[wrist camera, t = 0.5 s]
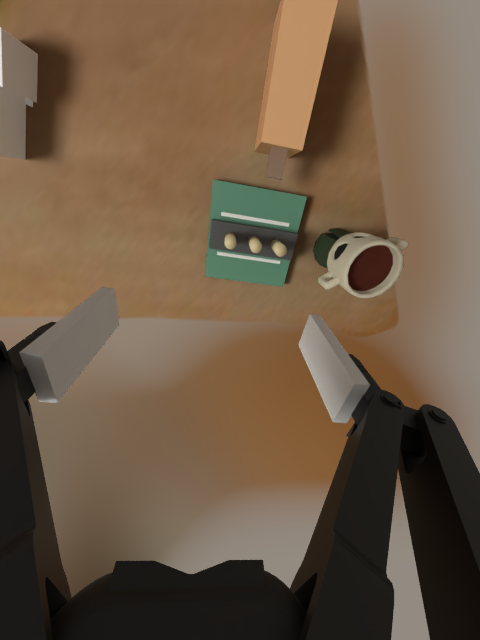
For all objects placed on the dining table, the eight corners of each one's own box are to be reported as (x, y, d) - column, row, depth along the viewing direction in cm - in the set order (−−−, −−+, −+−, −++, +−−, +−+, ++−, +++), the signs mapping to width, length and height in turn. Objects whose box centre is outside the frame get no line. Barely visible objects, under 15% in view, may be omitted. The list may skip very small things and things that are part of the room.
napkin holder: (25, 184, 32) (-11, 183, 27) (-59, 85, 27) (-124, 62, 22) (108, 124, 30) (84, 111, 25) (32, 1, 24) (-19, -48, 19)
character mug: (355, 208, 35) (415, 217, 24) (368, 248, 38) (426, 272, 27) (292, 246, 38) (320, 270, 27) (309, 281, 41) (340, 315, 30)
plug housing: (250, 176, 33) (256, 173, 27) (273, 25, 26) (288, -26, 19) (282, 182, 33) (295, 181, 27) (314, 36, 26) (340, -11, 20)
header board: (213, 179, 33) (210, 177, 27) (304, 196, 34) (320, 197, 28) (205, 273, 39) (201, 288, 33) (281, 283, 41) (290, 299, 35)
